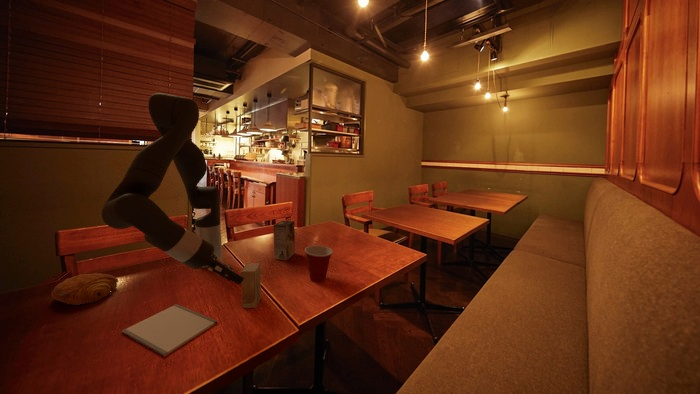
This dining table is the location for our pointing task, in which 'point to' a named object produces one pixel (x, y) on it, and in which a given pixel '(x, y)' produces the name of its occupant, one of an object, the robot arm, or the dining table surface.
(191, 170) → the robot arm
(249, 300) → the skincare box
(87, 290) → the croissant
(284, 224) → the coffee box
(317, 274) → the plastic cup
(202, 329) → the mat
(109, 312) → the dining table surface
